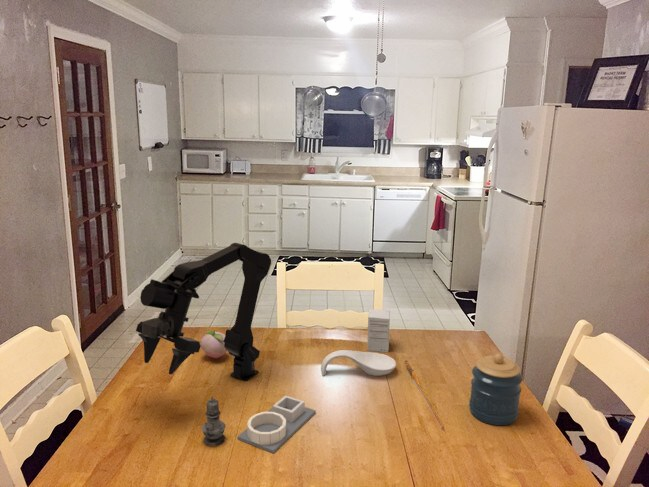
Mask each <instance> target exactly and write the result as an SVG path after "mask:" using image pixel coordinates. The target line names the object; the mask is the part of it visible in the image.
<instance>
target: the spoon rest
mask: <svg viewBox="0 0 649 487" xmlns="http://www.w3.org/2000/svg"><path fill="white" fill-rule="evenodd" d="M338 358H347V359H349V360H351V361H352V362H354V363H355V364H356V365H357V366H358V367H359V368H360V369H361V370H362V371H363V372H365V373H366V374H367V375H370V376H373V377H381V376H382V377H383V376H386V375H388V374H390V373H391V372H393V371H394V370H395V368H396V367H397V362H396V361H395V359H394V358H392V357H391V356H390V355H386V354H383V353H381V352H373V351H367V352H366V351H359V350H349V349H339V350H336V351H332V352H331V353H329V354H327V355H326V356H325V357H324V359H323V360H322V362H321V366H320V371H321V376H323V377H325V375H327V374H326V373H327V367H328V365H329V363H331V362H332V361H333V360H334V359H338Z"/></svg>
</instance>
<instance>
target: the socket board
mask: <svg viewBox="0 0 649 487" xmlns="http://www.w3.org/2000/svg"><path fill="white" fill-rule="evenodd" d="M316 412H317V411H316V410H315V409H313V408H310V407H307V406H306V402H305V401H304V400H302V399H298V398H296V397H292V396H289V395H284V396H283V397H282V398H280V399H279V400H278V401H276V403H275V404H273V405H272V408H270V409H269V410H268V411H261V412H259V413H255V414H253V415H252V416H251V417H249V418H248V420H247V424H246V429H245V430H244V431H242V432H241V433H240V434H239V435H237V440H239V441H241V442H244V443H247V445H251V446H254V447H256V448H258V449H262V450H264V451H266V452H268V453H272V454H275V453H276V452H277V451H278V450H279V449H280V448H281V447H282V446H283V445H284V444H285V443H286V442H287V441H288V440H289V439H290V438H291V437H292V436H293V435H295V433H296V432H298V431H299V429H301V428H302V427H303V426H304V425H305V424H306V423H307V422H308V421H309V420H310V419H311V418H312V417H313V416H314V415H315V414H317V413H316Z"/></svg>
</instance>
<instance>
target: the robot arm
mask: <svg viewBox="0 0 649 487" xmlns="http://www.w3.org/2000/svg"><path fill="white" fill-rule="evenodd" d="M238 260H239V261H241V262H242V266H241V268H242V273H243V274H242V275H243V276H244V281H243V284H242V290H241V294H240V300H239V304H238V307H237V314H236V317H235V322H234V324H233V326H232V327H231V328H230V329H226V331H225V334H224V335H225V339H224V341H223V342H225V343H224V347H225V349H226V350H227V351H226V352H228V355H230V356H233V366H232V368H233V370H232V371H233V372H231V373H230V375H229V376H230V377H233V378H234V379H235V378H236V379H239V380H242V381H245V382H247V381H249V380H250V379H251V378H253V377H254V376H256V375H257V374H259V370H258V369H255V362H256V360H257V359H259V357H260V353H261V350H259V349H257V347H255V346H253V345H254V336H253V335H254V334H253V332H252V325H253V324H252V323H253V320H254V314H255V310H256V305H257V301H258V296H259V292H260V287H261V283H262V282H263V280H264V279H265V278H266V277H267V276H268V273H269V272H270V268H271V265H272V258H271V257H270V255H269V253H268V254H267V253H266V252H261V251H257V250H255V249H252V248H250V247H248V246H247V245H246V244H242V243H239V242H233V243H231V244H230V245H229V246H227V247H225V248H223V249H220V250H218V251H217V252H214V253H212V254H211V255H208V256H206V257H204V258H202V259H199V260H194V261H187V262H183V263H179V264H178V265H176V266H175V267H174V270H173V271H172V272H171V273H169V275H167V276H166V277H165V278H164V279H163V280H162V281H159V280H156V279H152V278H151V279H150V281H149V283H147V284H146V285H145V286H144V287H143V289H142V290H141V293H140V303H141V304H142V305H143V306H144V307H151V308H156V309H162V310H164V311H161V312H160V313H159V314H158V316H157V317H156V318H155V317H153V318H150V319H147V320H143V321H140V322H138V323H137V326H136V329H135V332H137V333H138V337H140V338H141V340H142V342H143V355H144V357H143V358H144V363H145V364H149V362H150V361H151V360H152V357H153V355H154V353H155V351H156V349H157V347H158V345H159V342H160V340H161V339H164V340H166V341H169V342H170V343H173V345H174V348H173V347H172V348H171V349H172V353H173V354H172V359H171V362H170V365H169V369H168V375H174V373H175V372H176V371H177V370H178V368H180V366H181V365H182V364H183V363H184V362H185V361H186V359H188V358H189V357H190V356H191V355H195V353H199V352H200V350H201V341H199V340H197V339H194V338H192V337H184V336H185V335H184V334H185V332H182V330H183V327H184V325H185V322H186V323H188V322H189V319H190V318H189V317H187V315H188V311H189V309H190V304H191V302H192V300H193V298H194V299H200V296H199V294H198V292H197V288H199V287H200V286H201V285H203V284H204V283H205V282H206V281H207V279H208V278H209V276H211V275H212V274H214V273H215V272H216V273H217V271H220V270H221V269H224V268H226V267H227V266H229V265H231V264H233V263H235V262H237V261H238Z"/></svg>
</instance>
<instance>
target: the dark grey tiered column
mask: <svg viewBox="0 0 649 487" xmlns="http://www.w3.org/2000/svg"><path fill="white" fill-rule="evenodd" d="M219 407H220V406H219V401H218V399H215V398H214V396H211V397H210V399H209V400H207V402H206V412H205V417H206V422H205V423H203V425H202V426H201V431H202V433H203V435H204V438H203V443H204V445H206V446H209V447H215V446H216V447H217V446H219V445H221V444H223V443H224V442H225V440H226V436H225V435H224V432H225V429H226V428H227V427H226V424H225V422H224V421H222V420H221V419H220V415H221V411H220V409H219Z"/></svg>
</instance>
